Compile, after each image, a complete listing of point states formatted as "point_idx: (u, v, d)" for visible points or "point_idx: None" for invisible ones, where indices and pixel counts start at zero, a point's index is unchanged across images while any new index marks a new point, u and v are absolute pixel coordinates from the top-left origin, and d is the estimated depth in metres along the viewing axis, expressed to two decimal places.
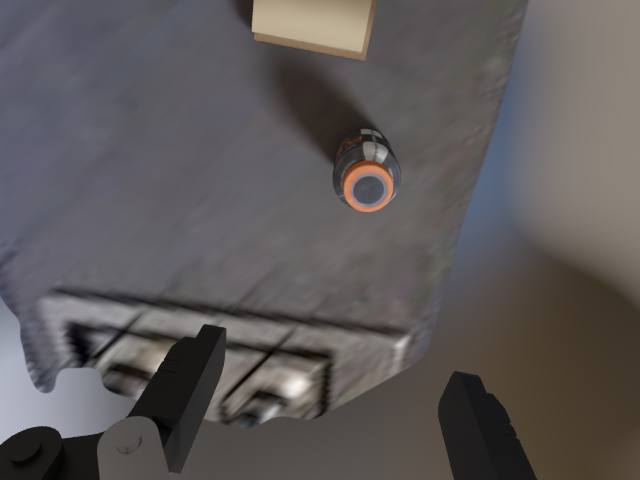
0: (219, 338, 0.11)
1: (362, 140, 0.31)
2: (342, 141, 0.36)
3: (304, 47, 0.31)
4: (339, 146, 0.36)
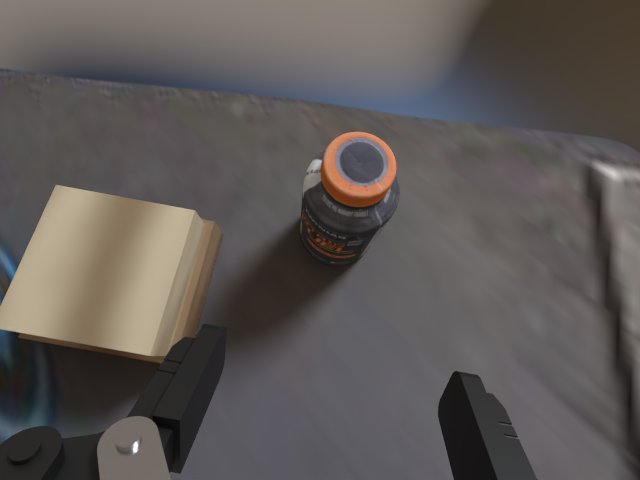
0: (219, 338, 0.11)
1: (302, 205, 0.23)
2: (314, 253, 0.27)
3: (191, 295, 0.24)
4: (320, 255, 0.27)
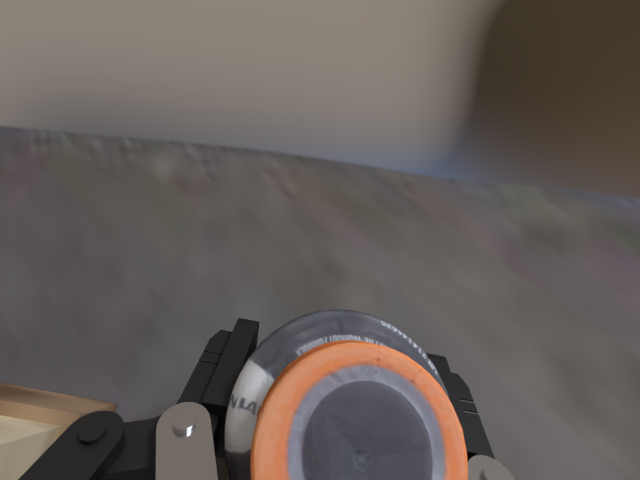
0: (254, 331, 0.12)
1: None
2: None
3: None
4: None
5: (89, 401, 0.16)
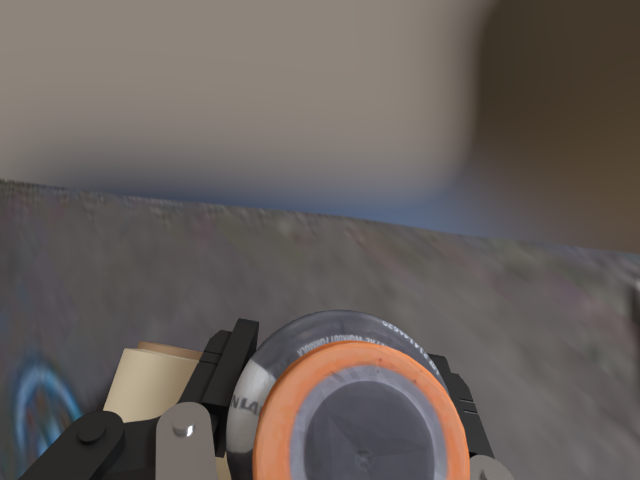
0: (254, 331, 0.12)
1: None
2: None
3: None
4: None
5: None
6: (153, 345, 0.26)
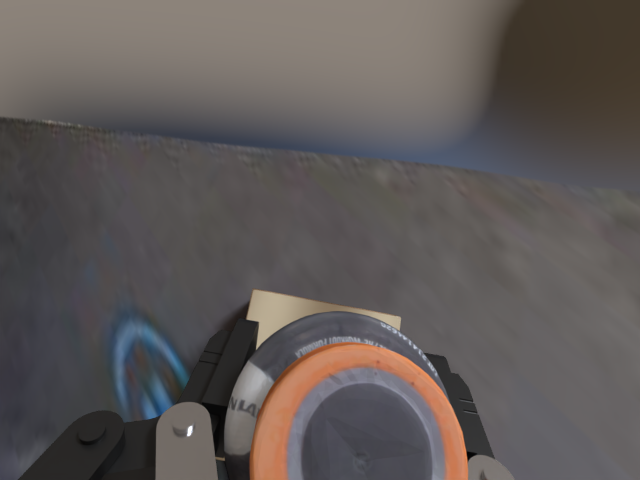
0: (254, 331, 0.12)
1: None
2: None
3: None
4: None
5: None
6: None
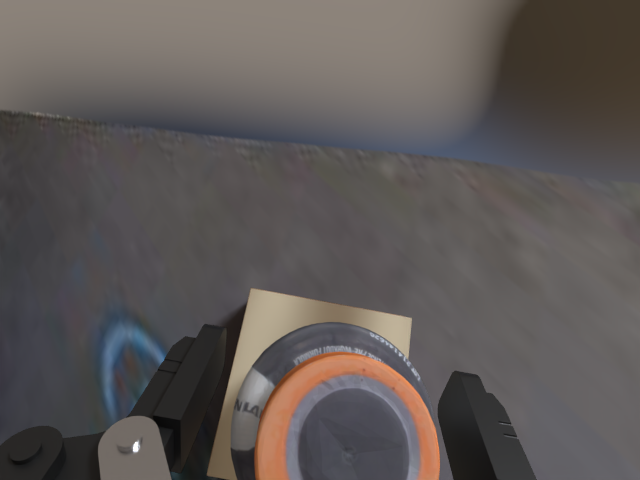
0: (219, 338, 0.11)
1: None
2: None
3: None
4: None
5: None
6: None
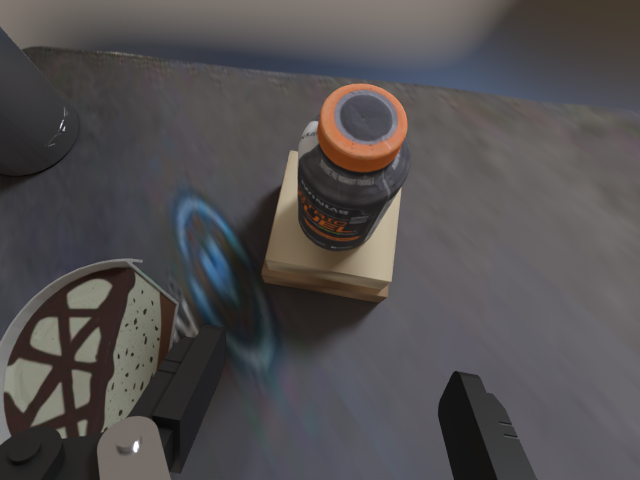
0: (219, 338, 0.11)
1: (298, 178, 0.20)
2: (312, 237, 0.24)
3: None
4: (319, 239, 0.24)
5: None
6: None
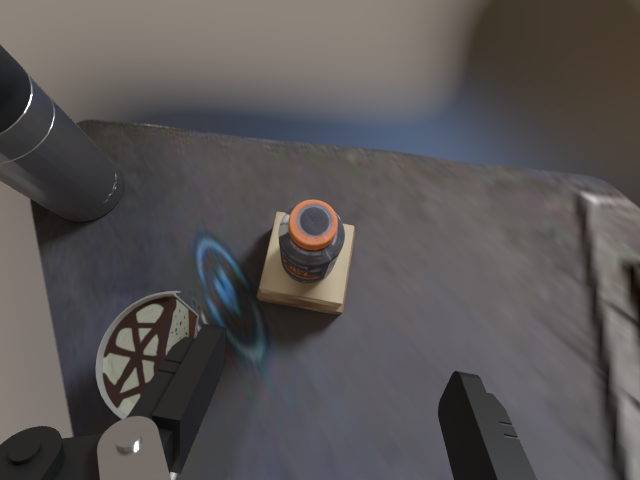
0: (219, 338, 0.11)
1: (279, 244, 0.33)
2: (290, 274, 0.37)
3: (347, 274, 0.42)
4: (294, 276, 0.36)
5: None
6: None
